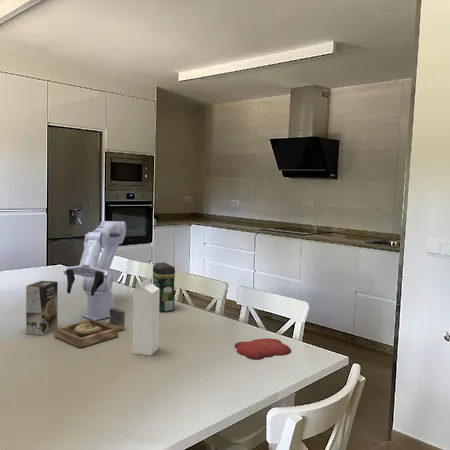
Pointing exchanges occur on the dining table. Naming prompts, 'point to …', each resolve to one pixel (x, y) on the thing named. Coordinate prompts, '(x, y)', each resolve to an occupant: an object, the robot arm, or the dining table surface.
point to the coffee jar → (164, 285)
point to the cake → (86, 330)
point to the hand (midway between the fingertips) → (80, 293)
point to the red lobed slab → (262, 348)
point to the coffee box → (41, 307)
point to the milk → (146, 319)
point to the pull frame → (107, 329)
